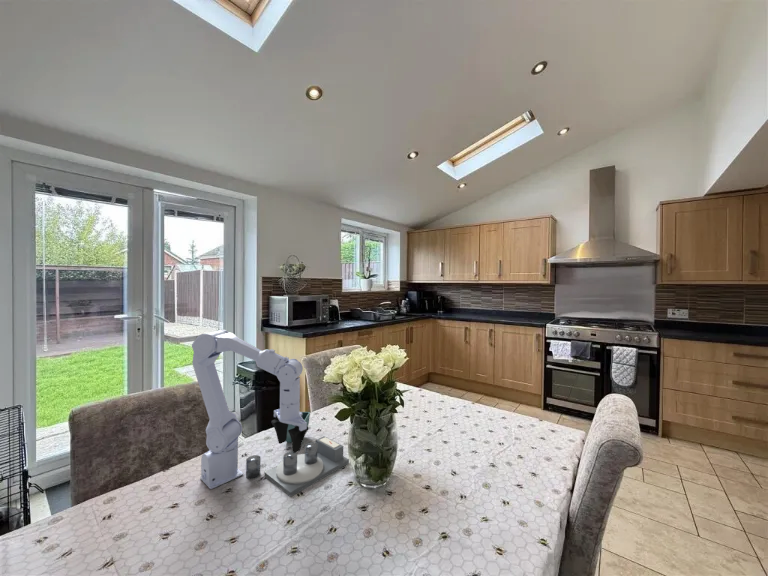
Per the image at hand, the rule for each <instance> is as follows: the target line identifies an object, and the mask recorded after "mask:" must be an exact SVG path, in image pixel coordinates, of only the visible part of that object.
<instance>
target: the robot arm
mask: <svg viewBox="0 0 768 576" xmlns="http://www.w3.org/2000/svg"><path fill="white" fill-rule="evenodd" d="M191 347H192V351H193V355H192V362H191V363H192V367H193V370H194V374H195V377H196V379H197V380H196V381H197V383H198V387H199V390H200V393H201V396H202V400H203V404H204V406H205V408H206V409H205V410H206V413H207V415H208V419H209V421H208V423H207V426H206V427H205V434H206V440H205V444H206V446H207V447H206V448H208V450H207V451H206V452H204V453H202V455H201V463H200V464H201V465H200V467H201V468H200V469H201V470H200V474H201V475H200V478H199V479H200V480H201V481H202V482H203V483H204V485H206V486H207V487H208V488H209V489H210V490H213V489H215V488H217V487H219V486H222V485H224V484H226V483H228V482H231V481H233V480H235V479H237V478H239V477H241V476H244V473H243V471H242V470H241V469H239V467H238V465H239V464H238V463H239V461H238V460H239V459H238V458H239V437H240V436H241V435H242V434H243V433H242V432H243V425H242V423H241V421H239V419H238V418H237V415H236V413H234V412H232V411H230V409H229V406H228V403H227V400H226V397H225V394H224V393H225V392H224V391H223V388H222V384H221V381H220V380H221V379H220V377H219V374H218V372H217V367H216V364H215V362H217V360H218V358H219V357H220V355H221V354H222V353H225V352H233V353H236V354H238V355H241V356H243V357H245V358H248V359H250V360H252V361H255V363H256V366H257V368H259V369H261V370H264V371H266V372H267V373H270V374H272V375H274V376H276V377H277V379H278V381H279V408H278V409H274V410H273V418H275V419H272V420H271V424H272V426H273V428H274V431H275V434H276V437H277V441H278V444H279V445H281V444H283V443H285V442H286V438H287V429H288V424H291V425H294V426H295V428H293V429H290V430H288V432H289V434H290V436H291V441H292V443H291V449H292V451H293V452H294V453H297V452H300V451H301V449H302V444H303V441H304V438H305V436H306V434H307V432H308V430H309V425H308V426H307V422H305V421H304V420H303V418H302V417H301V416H302V413H301V412H302V411H301V410H300V407H301V406H300V403H301V402H300V401H301V399H300V397H301V385H300V384H301V381H300V380H301V378H300V376H301V375H302V373H303V365H302V362H300V361H299V360H298V359H297V358H290V357H287V356H282V355H281V354H278V353H276V350H275V349H273V348H271V349H268V348H267V349H264V350H262V349H260V348H258V347H255V346H254V345H252V344H251V343H248V342H247V341H245V340H244V339H242V338H240V337H238V336H237V335H236V334H235V333H233V332H229V331H228V330H226V329H218V330H215V331H211V332H207V333H201V334H199V335H198V336H197V337H196V338H195V339H194V341H193V342H192V344H191Z"/></svg>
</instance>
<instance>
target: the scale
mask: <svg viewBox="0 0 768 576" xmlns="http://www.w3.org/2000/svg"><path fill="white" fill-rule="evenodd" d="M315 443H317V444H318V452H317V462H316V463H315V464H311V465H308V464H306V463H305V452H304V453H301V454H297V472H296V473H295V474H293V475H289V476H287V475H284V474H283V460H282V461H280V463H279V464H278V465H277V466H274V467H272V468H270V469H268V470H266V471H264V472H263V473H264V475H263V476H264V477H265V478H266V479H268V480H269V481H270V482H271V483H272V484H274V485H275V486H276V487H277V488H279V489H280V490H281V491H283V492H284V493H285V494H286V495H288V497H292V496H294V495H296V494H297V493H300V492H301V491H303V490H305V489H306V488H308V487H310V486H311V485H313V484H315V483H316V482H319V481H320V480H322V479H324V478H325V477H327V476H329V475H330V474H333V473H334V472H336V471H338V470H339V469H341V468H343V467H344V466H346V465H348V464H349V463H350V459H349V458H347V457H345V456H344V445H343V444H340V443H338V442H337V441H335V440H333V439H331V438H328V437H327V436H325V435H323V436H322V437H319V438H317V439H316V440H315Z"/></svg>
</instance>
